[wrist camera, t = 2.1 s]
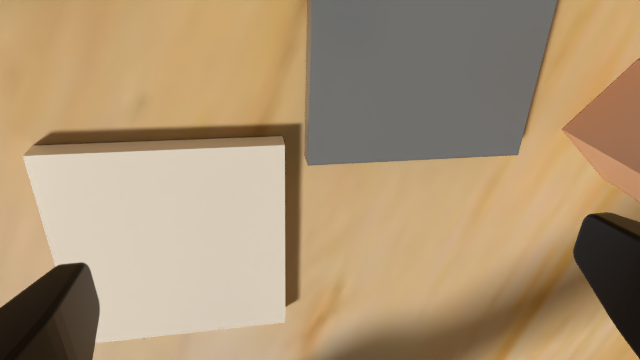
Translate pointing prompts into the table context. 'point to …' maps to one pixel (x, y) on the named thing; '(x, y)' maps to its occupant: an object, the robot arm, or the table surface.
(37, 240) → the table surface
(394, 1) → the slate coaster
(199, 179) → the stone coaster
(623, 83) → the tall pink block
